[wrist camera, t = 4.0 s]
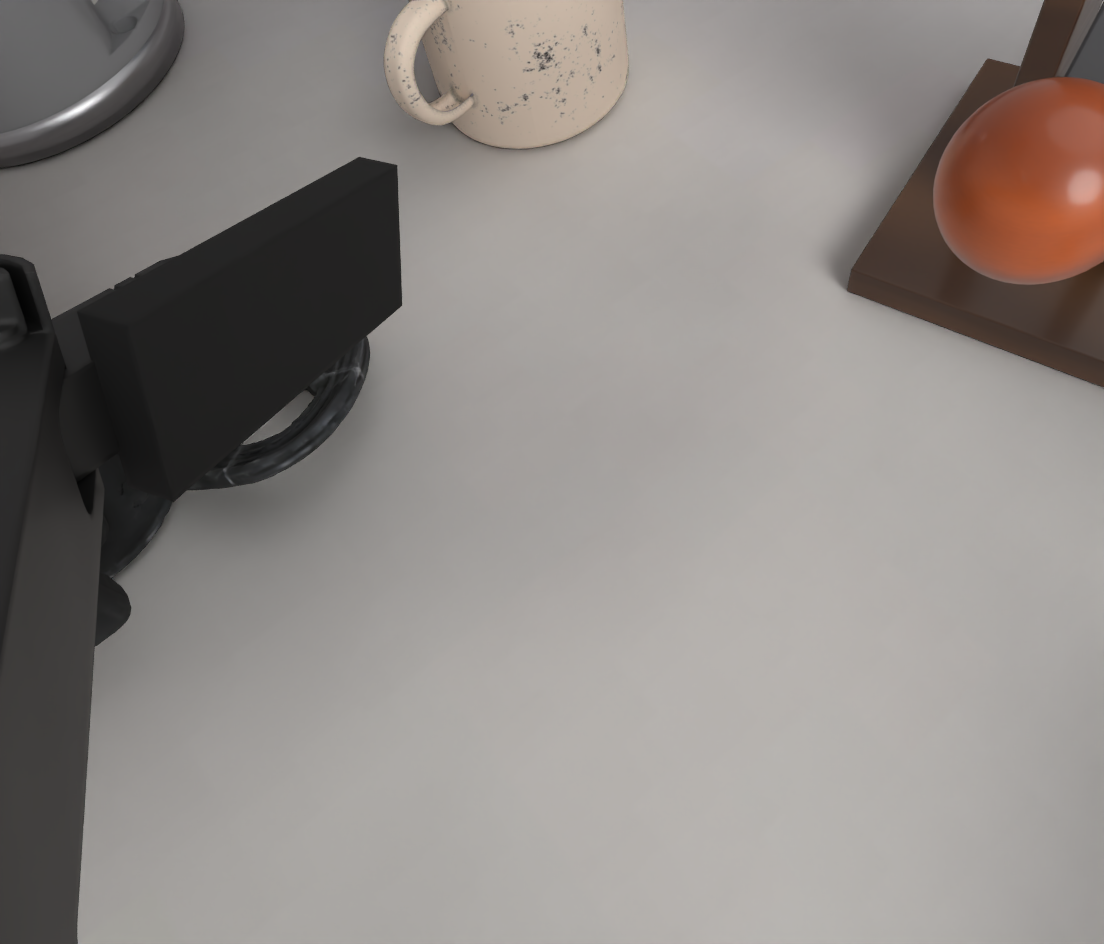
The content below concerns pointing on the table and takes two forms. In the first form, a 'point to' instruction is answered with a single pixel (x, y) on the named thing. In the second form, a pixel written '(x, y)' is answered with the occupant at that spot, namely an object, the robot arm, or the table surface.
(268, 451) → the milk frother
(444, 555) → the table surface
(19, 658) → the robot arm
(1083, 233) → the switch lever
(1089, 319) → the switch base
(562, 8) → the teacup with lid
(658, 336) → the table surface
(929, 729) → the table surface
